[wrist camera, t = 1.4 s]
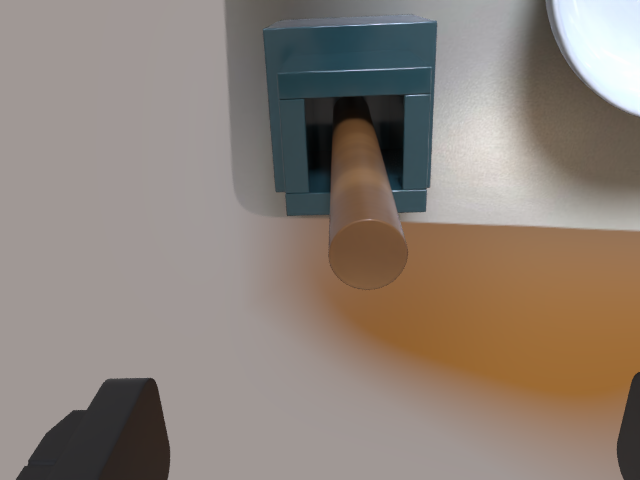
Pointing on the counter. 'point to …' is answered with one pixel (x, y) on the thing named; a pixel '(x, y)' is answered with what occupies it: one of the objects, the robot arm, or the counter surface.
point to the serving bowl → (601, 46)
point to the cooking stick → (362, 203)
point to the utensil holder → (350, 81)
